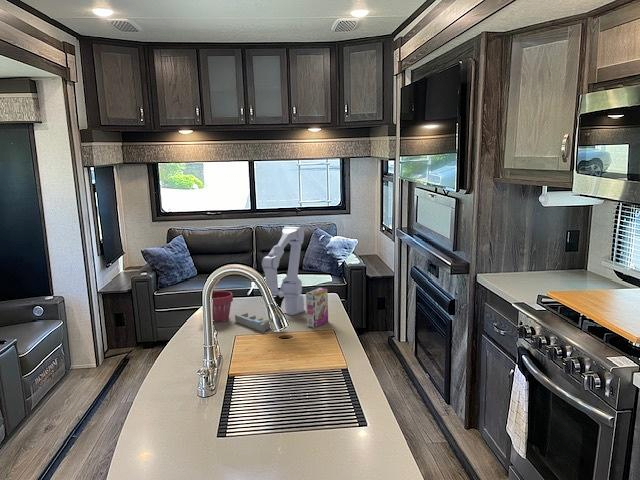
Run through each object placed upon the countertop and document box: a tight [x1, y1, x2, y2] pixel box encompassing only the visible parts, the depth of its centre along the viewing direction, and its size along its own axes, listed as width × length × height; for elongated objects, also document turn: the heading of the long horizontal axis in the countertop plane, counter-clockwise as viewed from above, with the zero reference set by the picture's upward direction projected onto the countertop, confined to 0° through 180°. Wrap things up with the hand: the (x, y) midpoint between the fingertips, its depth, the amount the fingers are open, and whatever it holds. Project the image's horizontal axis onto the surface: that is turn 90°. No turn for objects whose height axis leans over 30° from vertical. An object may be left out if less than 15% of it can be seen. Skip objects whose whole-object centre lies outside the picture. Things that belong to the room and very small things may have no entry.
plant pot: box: [212, 290, 234, 323], centre depth 236 cm, size 14×14×13 cm
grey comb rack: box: [234, 312, 271, 333], centre depth 226 cm, size 6×22×4 cm, turn 44°
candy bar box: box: [305, 287, 329, 329], centre depth 222 cm, size 11×5×16 cm, turn 144°
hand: (273, 309), depth 226 cm, fingers open, 7 cm apart
